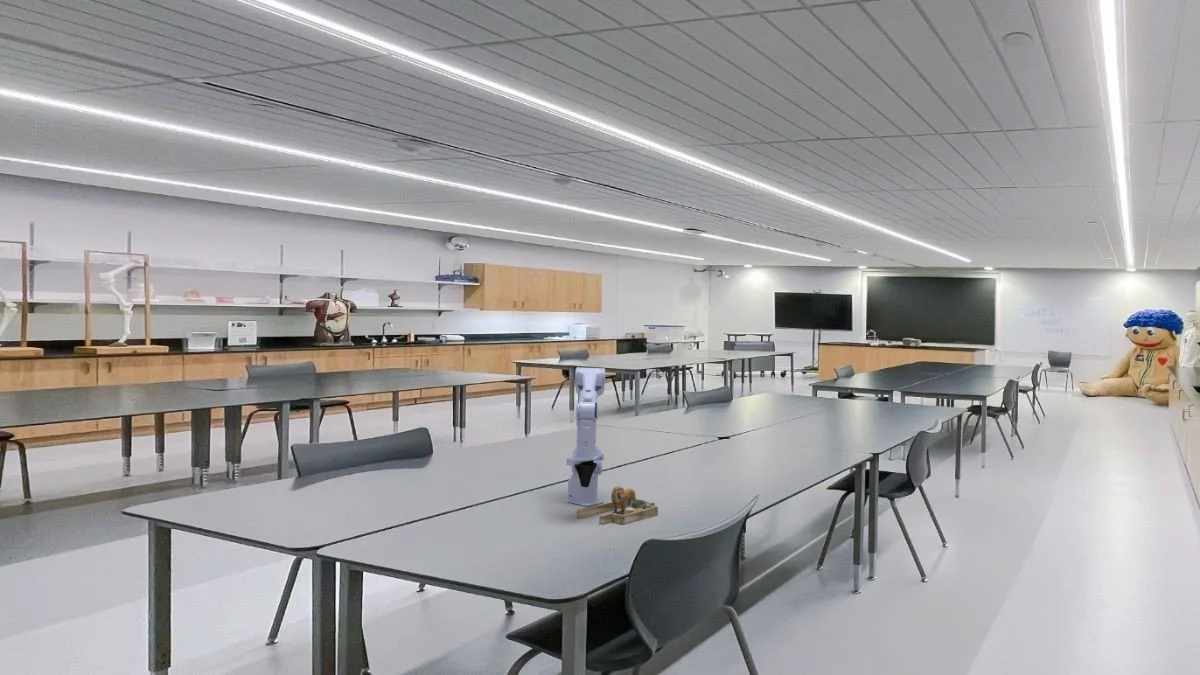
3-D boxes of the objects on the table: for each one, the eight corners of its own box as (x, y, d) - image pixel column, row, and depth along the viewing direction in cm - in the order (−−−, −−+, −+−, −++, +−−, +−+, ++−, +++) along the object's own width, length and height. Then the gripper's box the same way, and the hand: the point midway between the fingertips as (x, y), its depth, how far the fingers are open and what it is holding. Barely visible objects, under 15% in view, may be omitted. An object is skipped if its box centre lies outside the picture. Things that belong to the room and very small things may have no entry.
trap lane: (576, 518, 235) (577, 508, 235) (629, 504, 254) (630, 496, 253) (612, 527, 226) (612, 518, 225) (664, 513, 244) (664, 504, 244)
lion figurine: (623, 518, 237) (624, 488, 237) (606, 515, 239) (607, 486, 239) (640, 507, 250) (641, 479, 250) (625, 505, 252) (626, 477, 252)
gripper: (579, 445, 227) (577, 492, 227) (612, 440, 238) (610, 485, 238) (561, 442, 232) (560, 488, 232) (594, 437, 242) (593, 481, 243)
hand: (584, 486), depth 235 cm, fingers closed
